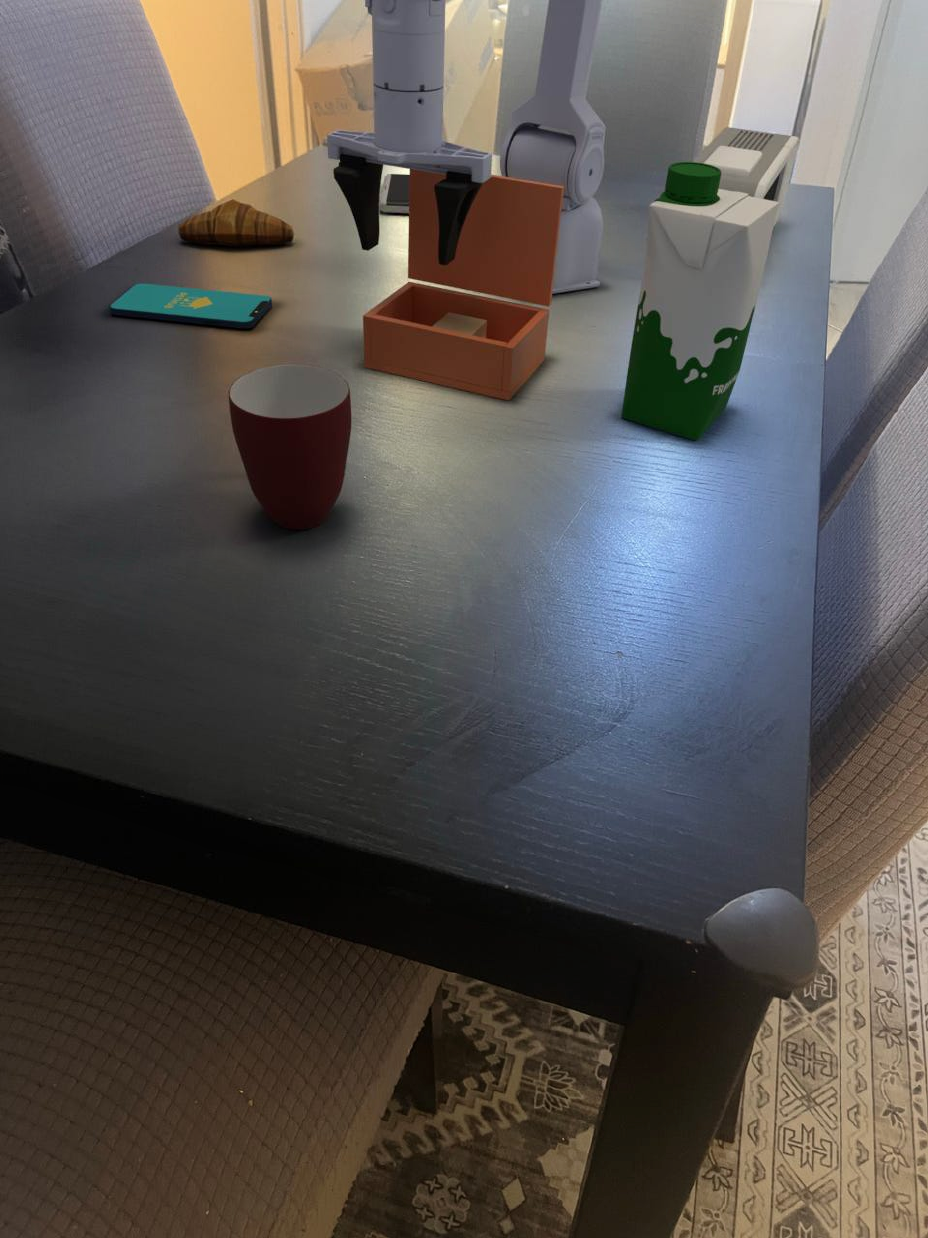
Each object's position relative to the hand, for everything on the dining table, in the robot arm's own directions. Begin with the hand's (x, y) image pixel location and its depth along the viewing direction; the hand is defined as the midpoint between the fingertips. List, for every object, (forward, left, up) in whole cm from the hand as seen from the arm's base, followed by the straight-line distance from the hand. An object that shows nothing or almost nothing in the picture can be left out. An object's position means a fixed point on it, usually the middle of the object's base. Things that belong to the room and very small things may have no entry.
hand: (408, 254), depth 86 cm
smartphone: (+16, -18, -10) cm, 26 cm away
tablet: (-29, -40, -10) cm, 50 cm away
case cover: (-7, +1, +1) cm, 7 cm away
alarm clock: (-50, -14, -10) cm, 52 cm away
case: (-3, +4, -9) cm, 11 cm away
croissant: (+6, -36, -10) cm, 37 cm away
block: (-3, +4, -9) cm, 10 cm away
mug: (+18, +21, -10) cm, 30 cm away
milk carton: (-17, +20, -10) cm, 28 cm away
